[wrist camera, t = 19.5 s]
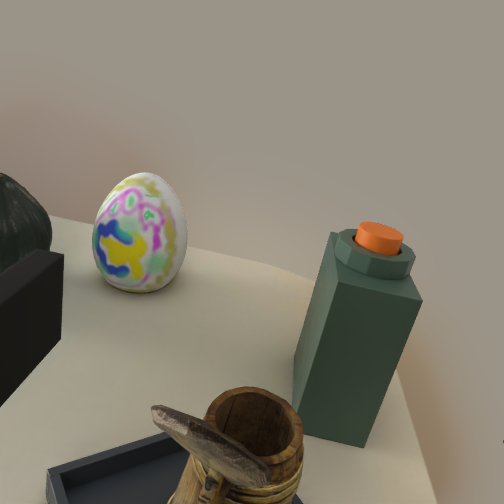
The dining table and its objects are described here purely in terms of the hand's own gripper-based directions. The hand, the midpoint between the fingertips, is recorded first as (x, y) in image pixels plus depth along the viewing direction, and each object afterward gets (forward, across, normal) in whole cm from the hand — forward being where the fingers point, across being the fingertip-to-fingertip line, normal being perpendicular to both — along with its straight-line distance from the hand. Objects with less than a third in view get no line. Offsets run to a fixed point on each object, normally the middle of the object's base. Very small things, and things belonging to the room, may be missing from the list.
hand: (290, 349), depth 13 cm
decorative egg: (+45, -18, -24) cm, 54 cm away
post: (+29, +8, -24) cm, 39 cm away
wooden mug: (+9, 0, -24) cm, 25 cm away
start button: (+29, +9, -7) cm, 31 cm away
